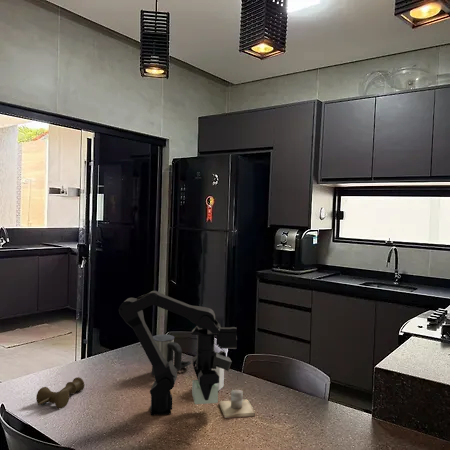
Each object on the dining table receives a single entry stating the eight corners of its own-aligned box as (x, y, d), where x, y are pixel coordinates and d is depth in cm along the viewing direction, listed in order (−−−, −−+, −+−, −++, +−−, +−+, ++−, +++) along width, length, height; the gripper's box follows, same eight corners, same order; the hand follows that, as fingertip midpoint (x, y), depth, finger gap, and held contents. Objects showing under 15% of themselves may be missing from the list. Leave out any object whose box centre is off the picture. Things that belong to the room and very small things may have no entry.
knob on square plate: (224, 417, 138) (225, 399, 137) (219, 404, 147) (219, 386, 147) (255, 415, 139) (255, 397, 139) (247, 402, 149) (247, 385, 149)
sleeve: (194, 404, 137) (195, 388, 137) (192, 394, 144) (192, 379, 144) (217, 402, 138) (218, 387, 138) (213, 393, 146) (214, 378, 145)
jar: (227, 388, 161) (228, 356, 161) (210, 393, 156) (211, 360, 156) (213, 380, 168) (213, 350, 168) (196, 385, 163) (196, 354, 163)
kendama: (90, 393, 155) (50, 416, 136) (68, 390, 158) (26, 411, 140) (90, 377, 155) (50, 397, 136) (69, 373, 158) (26, 392, 140)
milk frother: (146, 375, 172) (147, 338, 171) (163, 363, 187) (164, 329, 187) (179, 380, 168) (180, 342, 167) (194, 367, 183) (195, 332, 182)
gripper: (235, 355, 133) (234, 405, 134) (224, 338, 151) (223, 382, 152) (200, 357, 131) (199, 408, 131) (192, 339, 149) (191, 384, 150)
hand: (204, 394), depth 141 cm, fingers closed on sleeve, 7 cm apart
